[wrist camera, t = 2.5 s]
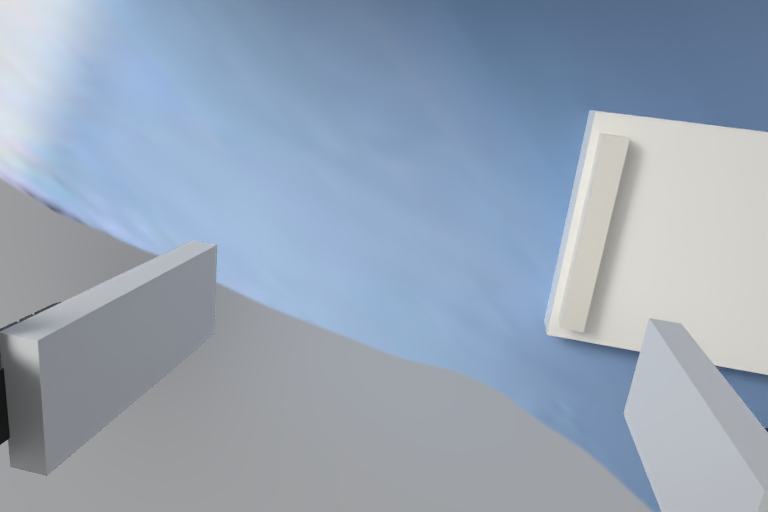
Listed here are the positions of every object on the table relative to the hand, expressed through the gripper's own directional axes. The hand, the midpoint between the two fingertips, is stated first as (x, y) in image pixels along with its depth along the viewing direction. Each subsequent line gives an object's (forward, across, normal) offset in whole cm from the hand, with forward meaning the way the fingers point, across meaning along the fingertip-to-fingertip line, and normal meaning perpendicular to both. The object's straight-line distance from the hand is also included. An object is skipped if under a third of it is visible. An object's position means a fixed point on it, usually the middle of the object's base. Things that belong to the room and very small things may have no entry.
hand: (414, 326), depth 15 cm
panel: (+19, +12, 0) cm, 22 cm away
